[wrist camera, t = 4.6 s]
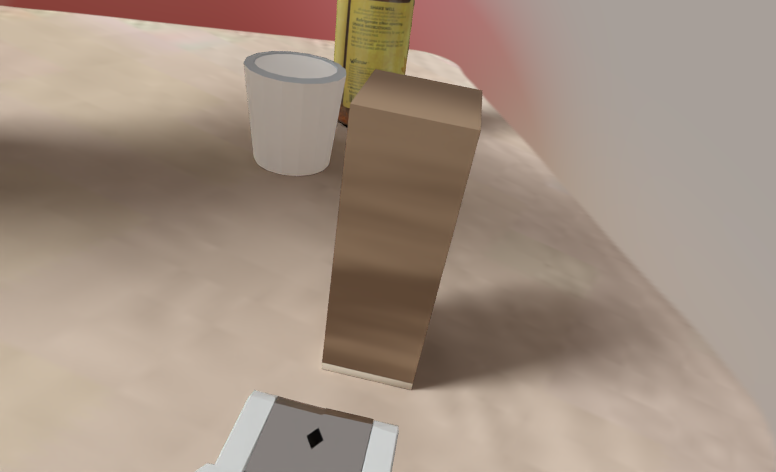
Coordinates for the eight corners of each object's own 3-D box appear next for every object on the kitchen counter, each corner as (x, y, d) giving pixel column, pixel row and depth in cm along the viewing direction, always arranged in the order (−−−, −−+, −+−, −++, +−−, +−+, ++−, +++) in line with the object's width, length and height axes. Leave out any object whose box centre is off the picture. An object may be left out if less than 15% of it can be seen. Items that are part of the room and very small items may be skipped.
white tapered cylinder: (307, 133, 42) (313, 47, 38) (355, 169, 38) (367, 77, 34) (228, 146, 38) (225, 51, 34) (273, 188, 34) (275, 86, 30)
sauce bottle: (410, 126, 46) (459, -139, 35) (362, 139, 42) (400, -155, 31) (362, 101, 50) (392, -147, 39) (313, 112, 46) (331, -163, 34)
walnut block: (410, 390, 22) (480, 130, 15) (321, 368, 22) (350, 103, 15) (421, 326, 25) (482, 90, 18) (343, 308, 25) (375, 68, 18)
